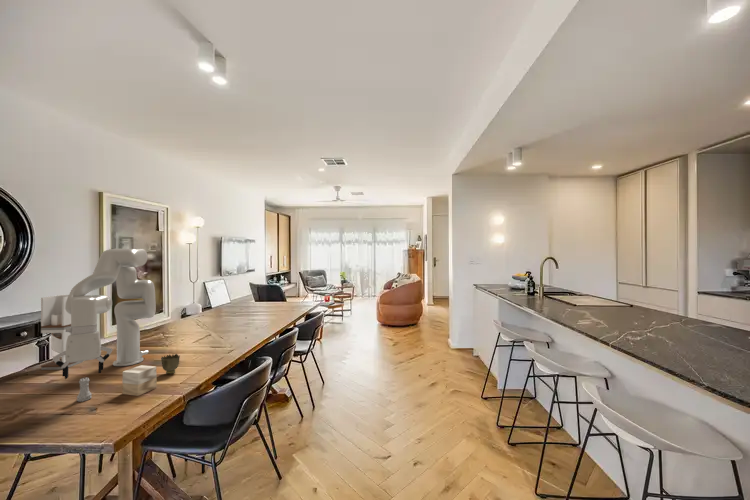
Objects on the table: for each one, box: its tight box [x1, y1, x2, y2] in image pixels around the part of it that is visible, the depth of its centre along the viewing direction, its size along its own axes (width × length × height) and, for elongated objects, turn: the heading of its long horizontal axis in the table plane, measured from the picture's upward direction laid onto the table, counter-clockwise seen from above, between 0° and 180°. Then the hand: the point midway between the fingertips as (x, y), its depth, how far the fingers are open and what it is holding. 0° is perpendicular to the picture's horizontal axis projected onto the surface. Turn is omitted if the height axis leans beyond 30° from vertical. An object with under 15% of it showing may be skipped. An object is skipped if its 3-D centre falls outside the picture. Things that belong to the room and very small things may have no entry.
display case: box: [40, 294, 84, 371], centre depth 168 cm, size 11×11×35 cm
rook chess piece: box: [76, 377, 93, 403], centre depth 128 cm, size 4×4×8 cm
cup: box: [161, 353, 181, 375], centre depth 156 cm, size 8×7×8 cm
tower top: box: [122, 364, 157, 385], centre depth 136 cm, size 8×8×4 cm
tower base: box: [122, 377, 157, 397], centre depth 136 cm, size 8×8×4 cm
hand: (83, 375), depth 128 cm, fingers open, 9 cm apart
